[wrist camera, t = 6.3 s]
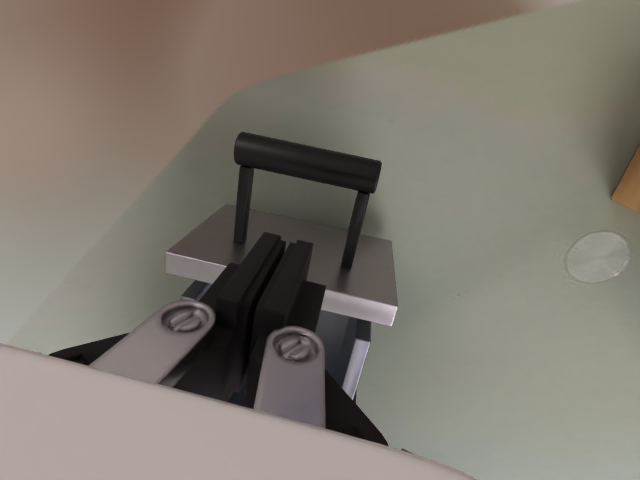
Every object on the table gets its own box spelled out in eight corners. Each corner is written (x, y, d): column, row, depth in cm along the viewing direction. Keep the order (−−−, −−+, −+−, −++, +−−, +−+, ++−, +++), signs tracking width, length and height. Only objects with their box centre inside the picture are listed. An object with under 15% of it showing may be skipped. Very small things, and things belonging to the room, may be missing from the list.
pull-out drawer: (232, 114, 22) (165, 129, 15) (417, 153, 22) (437, 187, 15) (213, 364, 31) (164, 449, 24) (345, 397, 30) (336, 495, 23)
